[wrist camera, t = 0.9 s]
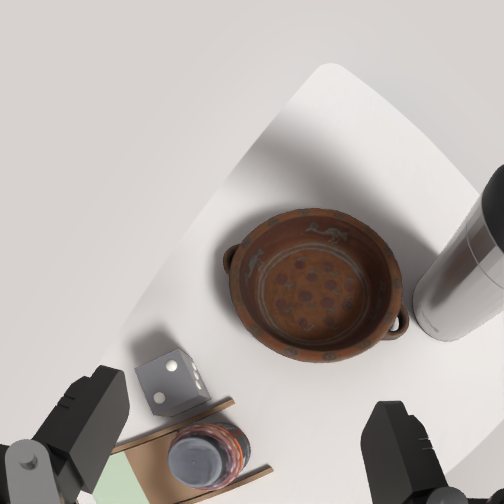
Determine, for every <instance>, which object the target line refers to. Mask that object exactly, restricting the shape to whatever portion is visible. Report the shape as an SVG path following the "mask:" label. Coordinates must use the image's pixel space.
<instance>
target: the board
mask: <svg viewBox="0 0 504 504" xmlns="http://www.w3.org/2000/svg"><path fill="white" fill-rule="evenodd" d="M233 404H235V402H234V400H233V399H231V400H229V401H227V402H225V403H223V404H221V405H219V406H217V407H214V408H212V409H210V410H208V411H206V412H204V413H201V414H199V415H197V416H195V417H192V418H190V419H188V420H185V421H183V422H181V423H178V424H176V425H173V426H171V427H169V428H166V429H164V430H161V431H159V432H156V433H154V434H151V435H148V436H146V437H143V438H140V439H138V440H135V441H132V442H130V443H127V444H124V445H121V446H118V447H115V448H113V450H112V452H111V454H113V453H116V452H119V451H121V450H124V449H127V448H130V447H133V446H136V445H138V444H141V443H144V442H147V441H149V440H152V439H155V438H157V437H160V436H162V435H165V434H167V433H170V432H172V431H175V430H177V429H180V428H182V427H184V426H187V425H189V424H191V423H194V422H196V421H198V420H201V419H203V418H205V417H207V416H209V415H212V414H214V413H216V412H218V411H220V410H222V409H225V408H227V407H229V406H231V405H233ZM177 433H178V431H175V432H173V433H170V434H168V435H165V436H163V437H160V438H157V439H155V440H152V441H150V442H147V443H144V444H141V445H139V446H136V447H133V448H130V449H127V450H125V451H122V452H119V453H116V454H113V455H110V457H109V459H108V461H107V463H106V465H105V467H104V469H103V472H102V474H101V476H100V478H99V480H98V483H97V485H96V487H95V489H94V491H93V493H92V495H93V497H94V499H95V501H96V503H97V504H175V503H178V502H181V501H184V500H187V499H190V498H193V497H196V496H199V495H202V494H205V493H207V492H210V491H200V490H195V489H193V488H190V487H188V486H186V485H184V484H182V483H181V482H179V481H178V480H177V479H176V478H175V477H174V476H173V475H172V473H171V471H170V469H169V466H168V449H169V446H170V443H171V441H172V439H173V438H174V437H175V435H176V434H177ZM271 472H273V469H272V467H270V468H268V469H266V470H263V471H261V472H259V473H257V474H255V475H252V476H250V477H248V478H246V479H243V480H241V481H238V482H236V483H234V484H231V485H229V486H226V487H224V488H221V489H218V490H216V491H213V492H210V493H208V494H205V495H202V496H199V497H196V498H193V499H190V500H187V501H184V502H181V503H178V504H194V503H197V502H200V501H203V500H205V499H208V498H211V497H214V496H216V495H219V494H222V493H224V492H227V491H230V490H232V489H235V488H237V487H239V486H242V485H244V484H247V483H249V482H251V481H254V480H256V479H258V478H260V477H263V476H265V475H267V474H269V473H271Z"/></svg>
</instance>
